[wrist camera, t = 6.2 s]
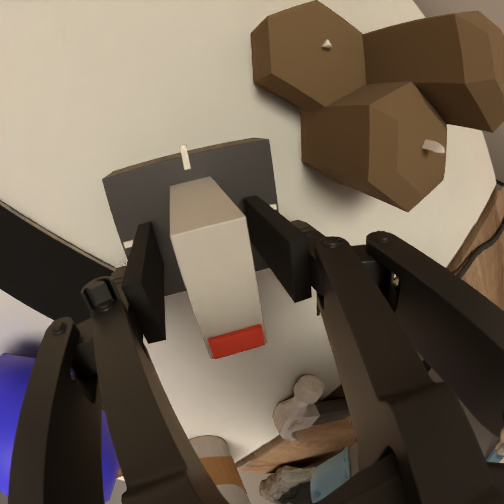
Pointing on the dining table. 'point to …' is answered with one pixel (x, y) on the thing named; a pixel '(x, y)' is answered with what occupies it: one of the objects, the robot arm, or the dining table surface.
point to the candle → (382, 93)
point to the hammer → (307, 408)
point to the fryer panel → (179, 171)
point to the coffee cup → (220, 467)
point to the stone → (289, 485)
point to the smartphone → (45, 268)
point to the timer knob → (216, 266)
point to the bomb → (7, 414)
